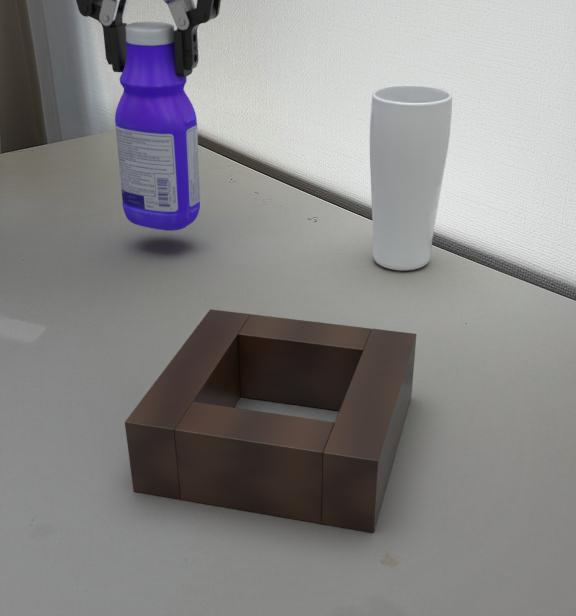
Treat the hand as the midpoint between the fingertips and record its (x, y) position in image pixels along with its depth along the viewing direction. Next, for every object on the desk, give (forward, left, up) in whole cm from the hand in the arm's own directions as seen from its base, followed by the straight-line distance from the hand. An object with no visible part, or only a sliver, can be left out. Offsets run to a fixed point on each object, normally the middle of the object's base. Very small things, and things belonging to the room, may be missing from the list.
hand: (153, 71), depth 75 cm
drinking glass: (+22, +2, -16) cm, 28 cm away
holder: (+19, -28, -16) cm, 38 cm away
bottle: (0, 0, -14) cm, 14 cm away
